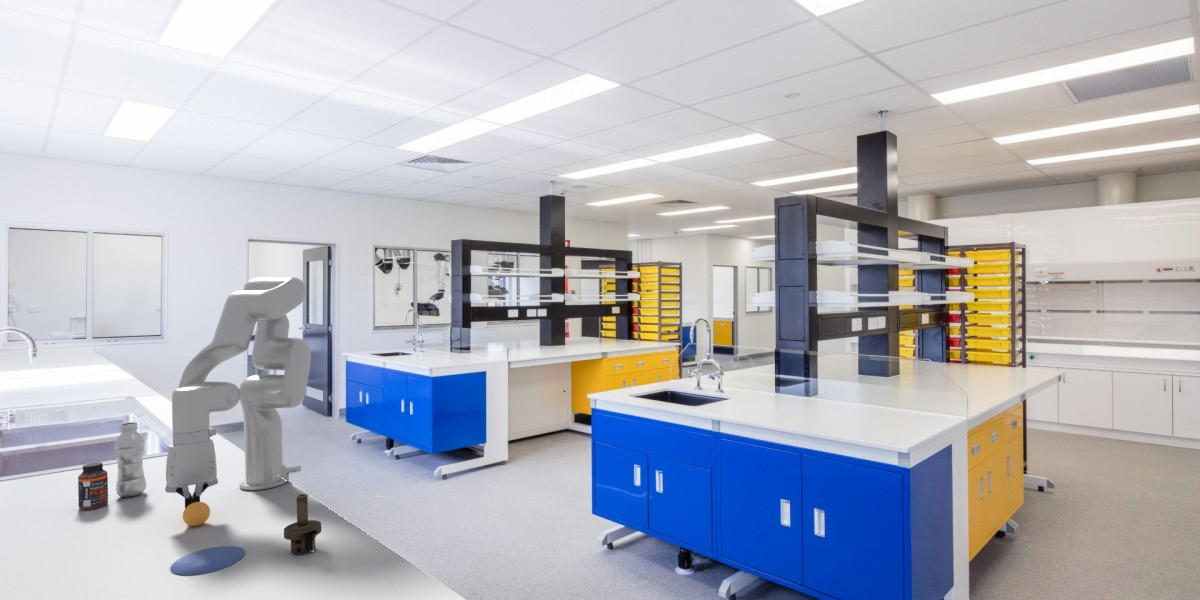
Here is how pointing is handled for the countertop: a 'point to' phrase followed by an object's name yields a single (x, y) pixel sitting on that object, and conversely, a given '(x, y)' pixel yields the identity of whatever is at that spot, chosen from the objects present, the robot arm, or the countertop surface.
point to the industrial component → (302, 528)
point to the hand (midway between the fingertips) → (192, 512)
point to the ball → (196, 513)
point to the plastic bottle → (130, 461)
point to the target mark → (207, 560)
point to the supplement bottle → (93, 486)
